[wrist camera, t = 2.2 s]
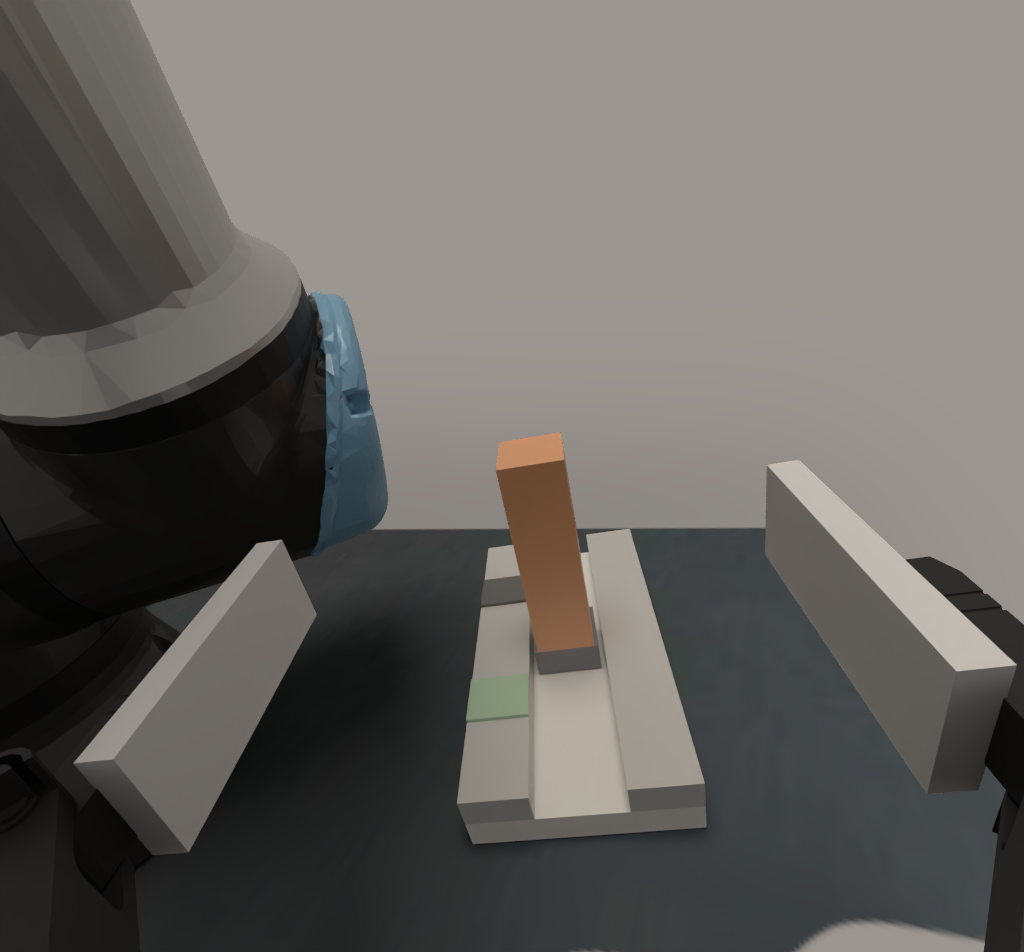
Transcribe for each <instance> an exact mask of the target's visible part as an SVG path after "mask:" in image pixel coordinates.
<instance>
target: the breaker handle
mask: <svg viewBox="0 0 1024 952" xmlns="http://www.w3.org/2000/svg"><path fill="white" fill-rule="evenodd" d="M496 473H497V477H498V482H499V486H500V490H501V494H502V499H503V503H504V508H505V511H506V516H507V521H508V525H509V529H510V534H511V538H512V542H513V547H514V551H515V555H516V560H517V564H518V568H519V573H520V577H521V581H522V586H523V590H524V594H525V599H526V603H527V607H528V612H529V616H530V620H531V625H532V629H533V633H534V654H535V658H536V663H537V667H538V671H539V674H545V673H555V672H564V671H573V670H582V669H591V668H600V667H602V665H601V658H600V652H599V645H598V638H597V632H596V625H595V619H594V612H593V606H592V607H589V603H588V597H587V591H586V585H585V579H584V572H583V566H582V560H581V554H580V548H579V541H578V535H577V529H576V523H575V517H574V511H573V504H572V498H571V493H570V486H569V480H568V473H567V467H566V461H565V455H564V449H563V442H562V436H561V432H560V433H554V434H547V435H542V436H535V437H529V438H523V439H517V440H511V441H505V442H500V443H499V451H498V458H497V466H496Z"/></svg>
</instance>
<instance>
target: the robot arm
mask: <svg viewBox="0 0 1024 952" xmlns="http://www.w3.org/2000/svg"><path fill="white" fill-rule="evenodd" d="M369 400H370V394H369V390H368V386H367V382H366V373H365V369H364V364H363V360H362V356H361V351H360V348H359V343H358V339H357V336H356V332H355V328H354V324H353V321H352V317H351V314H350V312H349V309H348V306H347V304H346V302H345V301H344V299H343V298H341V297H340V296H338V295H335V294H323V293H321V292H320V293H318V294H317V291H316V292H313V293H311V294H310V295H309V296H308V297H307V294H306V292H305V289H304V287H303V284H302V282H301V279H300V277H299V274H298V272H297V270H296V267H295V266H294V264H293V263H292V261H291V260H290V258H289V257H288V256H287V255H286V254H285V253H284V252H283V251H281V250H279V249H278V248H276V247H275V246H273V245H270V244H269V243H266V242H264V241H262V240H260V239H258V238H256V237H254V236H252V235H250V234H248V233H245V232H243V231H241V230H239V229H237V228H236V227H235V226H234V225H233V223H232V222H231V220H230V218H229V216H228V214H227V211H226V209H225V207H224V205H223V203H222V201H221V198H220V196H219V195H218V192H217V190H216V187H215V185H214V183H213V181H212V179H211V177H210V174H209V172H208V170H207V168H206V166H205V163H204V161H203V159H202V157H201V155H200V152H199V150H198V148H197V146H196V144H195V141H194V139H193V137H192V135H191V133H190V131H189V128H188V126H187V124H186V122H185V120H184V117H183V116H182V113H181V111H180V109H179V107H178V104H177V102H176V100H175V98H174V96H173V93H172V91H171V89H170V87H169V85H168V83H167V80H166V78H165V76H164V74H163V72H162V69H161V67H160V65H159V63H158V61H157V58H156V56H155V54H154V52H153V50H152V48H151V45H150V43H149V41H148V39H147V37H146V34H145V32H144V30H143V28H142V26H141V24H140V21H139V19H138V17H137V15H136V13H135V10H134V8H133V6H132V4H131V2H130V0H0V952H140V943H139V930H138V916H137V903H136V890H135V876H134V868H135V867H136V866H137V865H138V864H139V863H141V862H142V861H143V860H144V859H145V858H147V857H148V856H149V855H150V854H152V855H162V854H174V853H187V852H189V851H190V849H191V847H192V845H193V844H194V842H195V840H196V838H197V836H198V834H199V832H200V831H201V829H202V827H203V825H204V823H205V821H206V819H207V818H208V816H209V814H210V812H211V810H212V808H213V806H214V805H215V803H216V801H217V799H218V797H219V795H220V793H221V792H222V790H223V788H224V786H225V784H226V782H227V780H228V779H229V777H230V775H231V773H232V771H233V769H234V767H235V766H236V764H237V762H238V760H239V758H240V756H241V754H242V753H243V751H244V749H245V747H246V745H247V743H248V741H249V740H250V738H251V736H252V734H253V732H254V730H255V728H256V727H257V725H258V723H259V721H260V719H261V717H262V715H263V713H264V712H265V710H266V708H267V706H268V704H269V702H270V700H271V699H272V697H273V695H274V693H275V691H276V689H277V687H278V686H279V684H280V682H281V680H282V678H283V676H284V674H285V673H286V671H287V669H288V667H289V665H290V663H291V661H292V660H293V658H294V656H295V654H296V652H297V650H298V648H299V647H300V645H301V643H302V641H303V639H304V637H305V635H306V634H307V632H308V630H309V628H310V626H311V624H312V622H313V621H314V619H315V617H316V615H317V614H316V612H315V610H314V608H313V606H312V603H311V601H310V599H309V597H308V595H307V593H306V590H305V588H304V586H303V584H302V582H301V580H300V578H299V575H298V573H297V571H296V569H295V567H294V565H293V563H292V561H295V560H298V559H301V558H304V557H308V556H311V557H313V556H316V555H319V554H320V553H322V552H323V551H324V550H325V548H328V547H330V546H333V545H335V544H338V543H341V542H343V541H346V540H348V539H351V538H354V537H356V536H359V535H361V534H364V533H366V532H368V531H370V530H371V529H373V528H374V527H375V526H377V525H378V523H379V522H380V521H381V520H382V518H383V516H384V514H385V512H386V509H387V503H388V491H387V482H386V475H385V468H384V461H383V456H382V451H381V445H380V440H379V435H378V430H377V425H376V421H375V416H374V412H373V409H372V406H371V404H370V401H369ZM765 555H766V556H767V558H768V559H769V561H770V562H771V564H772V565H773V567H774V568H775V570H776V571H777V573H778V574H779V576H780V577H781V579H782V580H783V582H784V583H785V585H786V586H787V587H788V589H789V590H790V592H791V593H792V595H793V596H794V598H795V599H796V601H797V602H798V604H799V605H800V607H801V608H802V610H803V611H804V613H805V614H806V616H807V617H808V619H809V620H810V622H811V623H812V625H813V626H814V628H815V629H816V630H817V632H818V633H819V635H820V636H821V638H822V639H823V641H824V642H825V644H826V645H827V647H828V648H829V650H830V651H831V653H832V654H833V656H834V657H835V659H836V660H837V662H838V663H839V665H840V666H841V668H842V669H843V671H844V672H845V674H846V675H847V676H848V678H849V679H850V681H851V682H852V684H853V685H854V687H855V688H856V690H857V691H858V693H859V694H860V696H861V697H862V699H863V700H864V702H865V703H866V705H867V706H868V708H869V709H870V711H871V712H872V714H873V715H874V717H875V718H876V719H877V721H878V722H879V724H880V725H881V727H882V728H883V730H884V731H885V733H886V734H887V736H888V737H889V739H890V740H891V742H892V743H893V745H894V746H895V748H896V749H897V751H898V752H899V754H900V755H901V757H902V758H903V760H904V761H905V762H906V764H907V765H908V767H909V768H910V770H911V771H912V773H913V774H914V776H915V777H916V779H917V780H918V782H919V783H920V785H921V786H922V788H923V789H924V791H925V792H926V794H935V793H948V792H961V791H973V790H979V787H980V783H981V780H982V777H983V774H984V771H985V767H986V766H987V767H988V768H989V770H990V771H991V772H992V773H993V775H994V776H995V777H996V778H997V780H998V781H999V782H1000V783H1001V784H1002V786H1003V787H1004V788H1005V789H1006V792H1005V795H1004V798H1003V801H1002V803H1001V806H1000V809H999V812H998V815H997V818H996V821H995V824H994V827H993V829H992V831H993V832H995V833H997V834H998V839H997V848H996V856H995V864H994V872H993V880H992V889H991V897H990V905H989V913H988V922H987V930H986V938H985V947H984V952H1024V625H1023V624H1022V623H1021V622H1020V621H1019V620H1018V619H1016V618H1015V617H1014V616H1013V615H1012V614H1010V613H1009V612H1008V611H1007V610H1002V607H1001V605H1000V604H998V603H997V602H996V601H995V600H994V599H993V598H991V597H990V596H989V595H988V594H984V593H983V590H982V589H981V588H979V587H978V586H977V585H976V584H975V583H974V582H972V581H971V580H970V579H969V578H968V577H967V576H965V575H964V574H963V573H962V572H960V571H959V570H957V569H955V568H952V567H951V566H948V565H946V564H944V563H942V562H940V561H938V560H936V559H934V558H932V557H923V558H915V559H907V560H905V559H903V558H902V557H901V556H900V555H899V554H898V553H897V552H896V551H895V550H894V549H893V548H892V547H891V546H890V545H889V544H888V543H886V542H885V541H884V540H883V539H882V538H881V537H880V536H879V535H878V534H877V533H876V532H875V531H874V530H873V529H872V528H870V527H869V526H868V525H867V524H866V523H865V522H864V521H863V520H862V519H861V518H860V517H859V516H858V515H857V514H856V513H855V512H854V511H852V510H851V509H850V508H849V507H848V506H847V505H846V504H845V503H844V502H843V501H842V500H841V499H840V498H838V496H836V495H835V494H834V493H833V492H832V491H831V490H830V489H829V488H828V487H827V486H826V485H825V484H824V483H823V482H822V481H820V480H819V479H818V478H817V477H816V476H815V475H814V474H813V473H812V472H811V471H810V470H809V469H808V468H807V467H806V466H805V465H803V464H802V463H801V462H800V461H799V460H796V461H790V462H783V463H776V464H770V465H767V485H766V538H765ZM223 582H224V583H223ZM219 583H223V584H222V586H221V587H220V588H219V589H218V590H217V592H216V593H215V594H214V595H213V596H212V598H211V599H210V600H209V601H208V602H207V604H206V605H205V606H204V607H203V608H202V610H201V611H200V612H199V613H198V614H197V616H196V617H195V618H194V619H193V620H192V622H191V623H190V624H189V625H188V626H187V628H186V629H185V630H184V631H183V632H182V633H180V632H179V631H177V630H176V629H174V628H173V627H171V626H170V625H168V624H167V623H165V622H164V621H162V620H161V619H159V618H158V617H156V616H155V615H153V614H152V613H150V612H149V611H148V610H147V609H146V608H145V606H147V605H151V604H154V603H157V602H160V601H164V600H167V599H170V598H174V597H177V596H180V595H183V594H187V593H190V592H193V591H196V590H200V589H203V588H206V587H210V586H213V585H216V584H219Z"/></svg>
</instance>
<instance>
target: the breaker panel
mask: <svg viewBox="0 0 1024 952" xmlns="http://www.w3.org/2000/svg"><path fill="white" fill-rule="evenodd" d="M586 536H587V543H588V549H589V552H586V553H580V554H581V560H582V566H583V572H584V579H585V585H586V591H587V597H588V603H589V607H592V606H593V612H594V619H595V625H596V632H597V638H598V645H599V652H600V658H601V665H602V667H600V668H591V669H582V670H573V671H564V672H555V673H545V674H539V671H538V667H537V663H536V658H535V654H534V633H533V629H532V625H531V620H530V616H529V612H528V607H527V603H526V599H525V594H524V590H523V586H522V581H521V577H520V573H519V568H518V564H517V560H516V555H515V551H514V547H513V545H509V546H502V547H495V548H489V550H488V558H487V566H486V574H485V580H484V582H483V590H482V598H481V614H480V622H479V630H478V638H477V646H476V654H475V662H474V670H473V678H472V679H471V685H470V693H469V700H468V708H467V716H466V722H467V727H466V735H465V743H464V751H463V759H462V767H461V775H460V783H459V791H458V799H457V805H458V808H459V810H460V813H461V815H462V818H463V820H464V823H465V825H466V828H467V830H468V833H469V835H470V838H471V840H472V843H473V844H483V843H497V842H511V841H525V840H539V839H553V838H567V837H581V836H595V835H609V834H622V833H636V832H650V831H664V830H678V829H692V828H706V827H707V826H706V801H705V782H704V779H703V776H702V772H701V769H700V766H699V762H698V759H697V755H696V752H695V749H694V745H693V742H692V739H691V735H690V732H689V728H688V725H687V722H686V718H685V715H684V712H683V708H682V705H681V701H680V698H679V695H678V691H677V688H676V684H675V681H674V678H673V674H672V671H671V668H670V664H669V661H668V657H667V654H666V651H665V647H664V644H663V641H662V637H661V634H660V630H659V627H658V624H657V620H656V617H655V614H654V610H653V607H652V603H651V600H650V597H649V593H648V590H647V587H646V583H645V580H644V576H643V573H642V570H641V566H640V563H639V559H638V556H637V553H636V549H635V546H634V543H633V539H632V536H631V532H630V529H624V530H617V531H610V532H603V533H596V534H588V535H586Z"/></svg>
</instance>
